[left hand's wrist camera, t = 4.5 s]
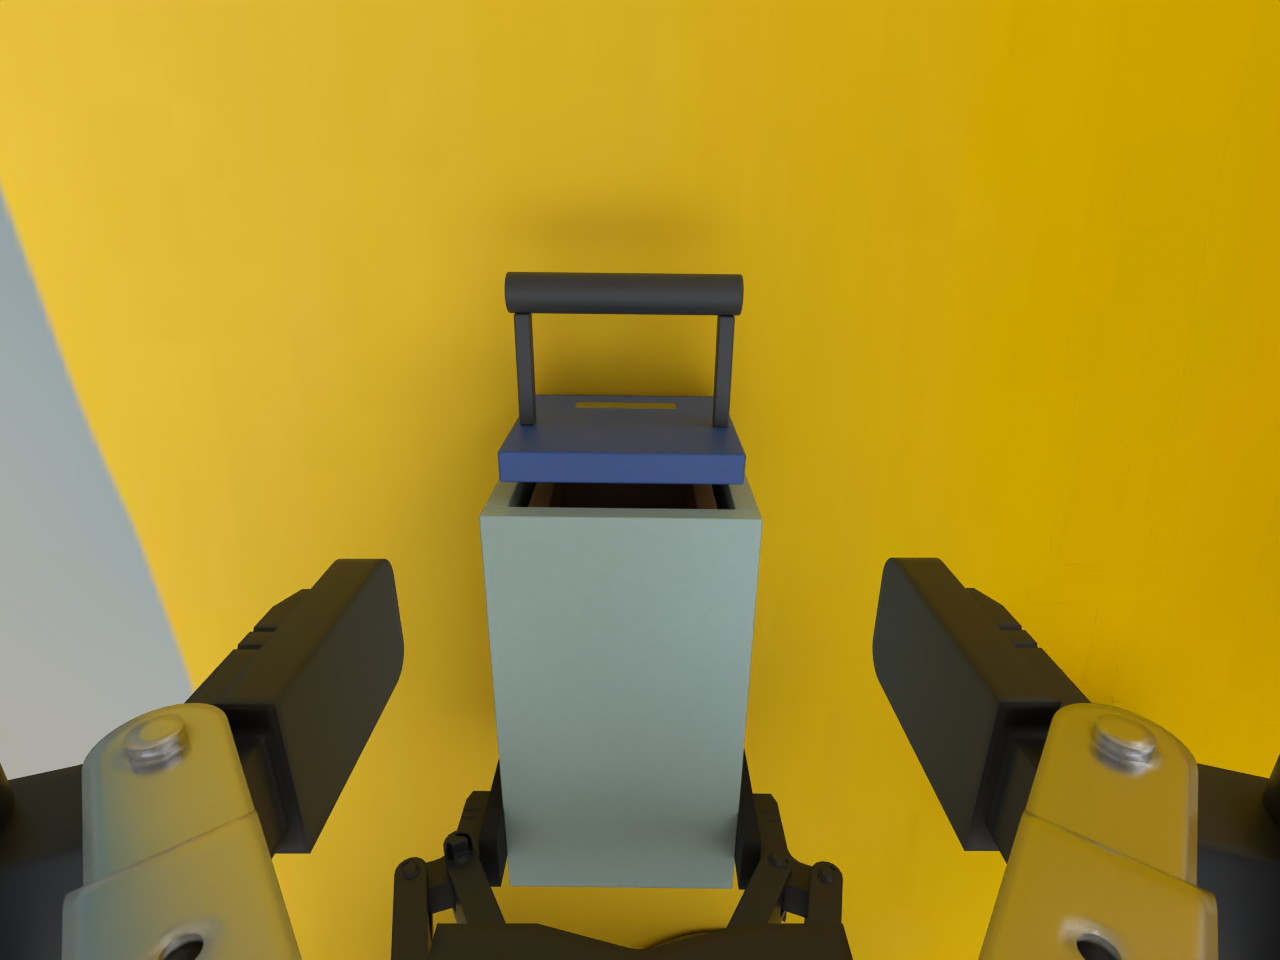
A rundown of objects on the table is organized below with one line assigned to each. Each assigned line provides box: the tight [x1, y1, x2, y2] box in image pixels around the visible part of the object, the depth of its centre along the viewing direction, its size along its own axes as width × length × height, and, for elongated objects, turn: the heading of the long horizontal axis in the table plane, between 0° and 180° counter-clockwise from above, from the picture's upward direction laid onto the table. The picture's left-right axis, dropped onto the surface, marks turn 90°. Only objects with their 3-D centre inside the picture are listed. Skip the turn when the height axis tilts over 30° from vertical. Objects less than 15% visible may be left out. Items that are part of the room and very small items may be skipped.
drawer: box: [498, 272, 746, 509], centre depth 30 cm, size 23×9×8 cm, turn 179°
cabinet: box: [479, 475, 763, 889], centre depth 33 cm, size 18×10×10 cm, turn 179°
